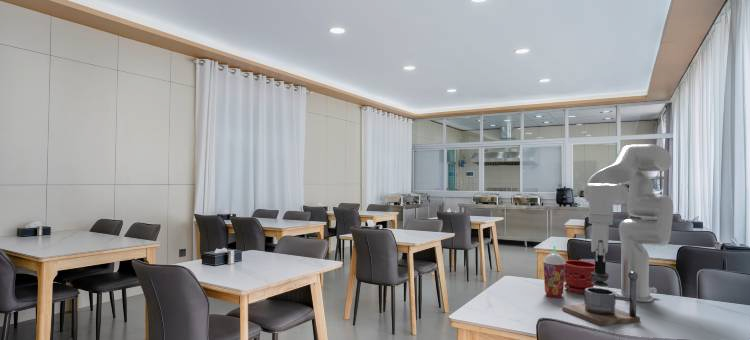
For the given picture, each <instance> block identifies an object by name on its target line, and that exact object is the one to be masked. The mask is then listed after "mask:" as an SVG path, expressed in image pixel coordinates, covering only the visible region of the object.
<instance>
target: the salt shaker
mask: <svg viewBox="0 0 750 340" xmlns="http://www.w3.org/2000/svg"><path fill="white" fill-rule="evenodd" d="M598 255H599V254H598ZM594 264H595V261H594ZM591 274H592V275H591V276H592V278H593V279H594V280H596V281H593V282H591V283H592V284H594V286H599V287H606V286H607V287H608V286H609V283H607V281H608V280H609V277H610V273H607V272H605V274H598V273H595V270H594V272H591Z"/></svg>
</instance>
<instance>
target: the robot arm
mask: <svg viewBox="0 0 750 340" xmlns="http://www.w3.org/2000/svg"><path fill="white" fill-rule="evenodd" d="M672 161H673V159H672V155H671V153H670V152H669V151H668V150H667V149H665V148H663V147H662V146H660V145H658V144H653V143H648V144H645V143H644V144H629V145H625V146H623V147H622V148H621V149H620V150H619V151H618V153H617V154H616V157H615V158H614V160H613V162H612V163H611V165H609V166H606V167H604V168H603V169H600V170H598V171H596V172H595V173H593V174H592V175H591V176H590V178H589V179H588V181H587V182H586V184H585V186H584V189H583V198H584V199H585V201H586V202H587V203H588V224H591V233H590V234H591V235H590V236H591V238H590V239H591V241H590V242H591V243H590V244H591V245H590V247H591V250H590V251H591V253H594V252H595V259H594V262H595V263H594V264H595V273H598V274H605V272H606V269H607V268H606V265H607V264H606V254H607V253H608V249H609V237H610V236H609V235H610V234H609V233H610V226H612V225H614V206H621V205H624V204H625V203H626V213H627V214H629V215H630V217H631V216H632V217H637V218H626V219H624V220H622V221H621V222H620V223H619V225H618V234H619V238H620V239H619V240H620V248H621V249H620V250H621V253H620V254H621V255H620V256H621V260H620V261H621V263H620V265H621V266H620V269H621V271H620V290H619V291H616V295H618V296H626V297H630V279H629V277H628V273H629V272H631V271H634V272H636V273H637V274H638V279H637V287H636V303H637V302H640V303H649V302H650V303H651V302H653V301H654V297H653V296H652V295H651V294H653V293H654V294H655V293H657V291H658V289H657V288H656V287H651V286H649V285H650V284H649V283H650V281H649V280H650V279H649V277H650V275H649V274H650V269H649V267H650V256H649V253H648V250H647V249H646V248H645V247H644V245H649V246H650V245H652V246H659V247H660V246H661V247H663V246H667V245H668V244H669V243H670V240H671V236H672V225H673V216H674V203H673V200H672V198H671V197H670V196H668V195H666V194H654V186H655V185H654V184H655V183H654V181H653V180H652V179H651V177H650V176H649V175H647V173H645V172H665V171H668V170H669V169H670V168H671V166H672ZM627 182H629V183H628V184H629V185H628V186H629V188H628V189H627V187H626V186H625V185H623V183H627ZM638 218H647V219H638ZM648 218H649V219H648ZM650 219H655V220H650ZM656 219H657V220H656ZM598 254H599V255H598ZM606 273H607V272H606Z"/></svg>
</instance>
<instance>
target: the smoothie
mask: <svg viewBox="0 0 750 340" xmlns="http://www.w3.org/2000/svg"><path fill="white" fill-rule="evenodd" d="M543 259H544V260H542V263H543V277H544V279H543V281H544V293H545V294H546V296H547V297H550V298H554V299H555V298H562V297H563V294H564V288H565V286H564V284H565V278H564V275H565V264H566V263H565V261H566V260H565V259H564V257H563V256H562V255H561V254H559V253H556V246H555V245H554V246H553V252H550V253H549V254H546V256H545V257H544V258H543Z"/></svg>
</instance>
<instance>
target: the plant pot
mask: <svg viewBox="0 0 750 340" xmlns="http://www.w3.org/2000/svg"><path fill="white" fill-rule="evenodd" d="M564 261H565V263H566V264H565V275H564V282H565V283H564V288H565V289H566V290H567V291H569V292H571V293H574V294H575V293H576V294H580V295H581V294H582V295H585V289H586V288H595V287H594V286H595V285H594V284H592V283H591V282H593V281H596V280H594V279H593V278H592V276H591V275H592V274H591V272H594V270H595V263H593V262H590V261H585V260H576V259H570V260H568V259H567V260H564Z"/></svg>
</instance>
